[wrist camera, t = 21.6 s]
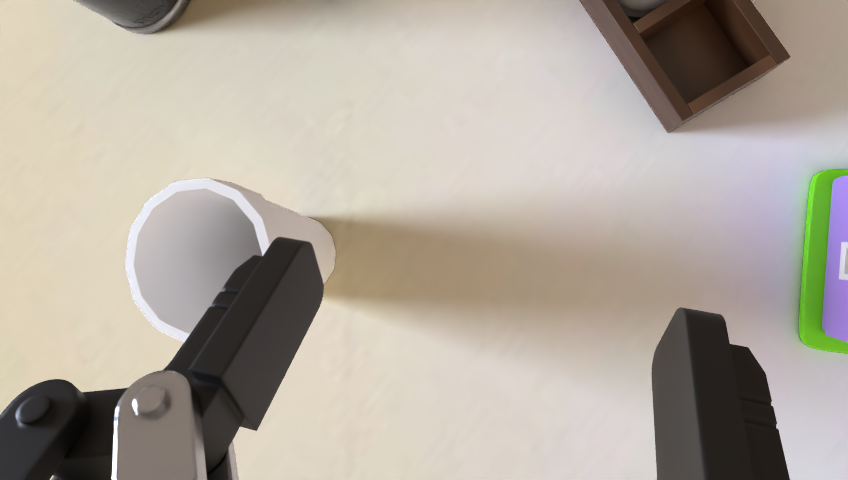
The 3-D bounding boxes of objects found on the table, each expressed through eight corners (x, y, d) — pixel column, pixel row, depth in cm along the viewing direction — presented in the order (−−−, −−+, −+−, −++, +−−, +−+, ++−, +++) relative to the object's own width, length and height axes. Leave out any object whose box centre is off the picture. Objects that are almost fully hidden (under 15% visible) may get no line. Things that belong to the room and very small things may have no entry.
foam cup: (320, 176, 40) (224, 146, 28) (375, 275, 40) (301, 292, 27) (229, 235, 42) (100, 232, 29) (280, 331, 41) (168, 372, 28)
